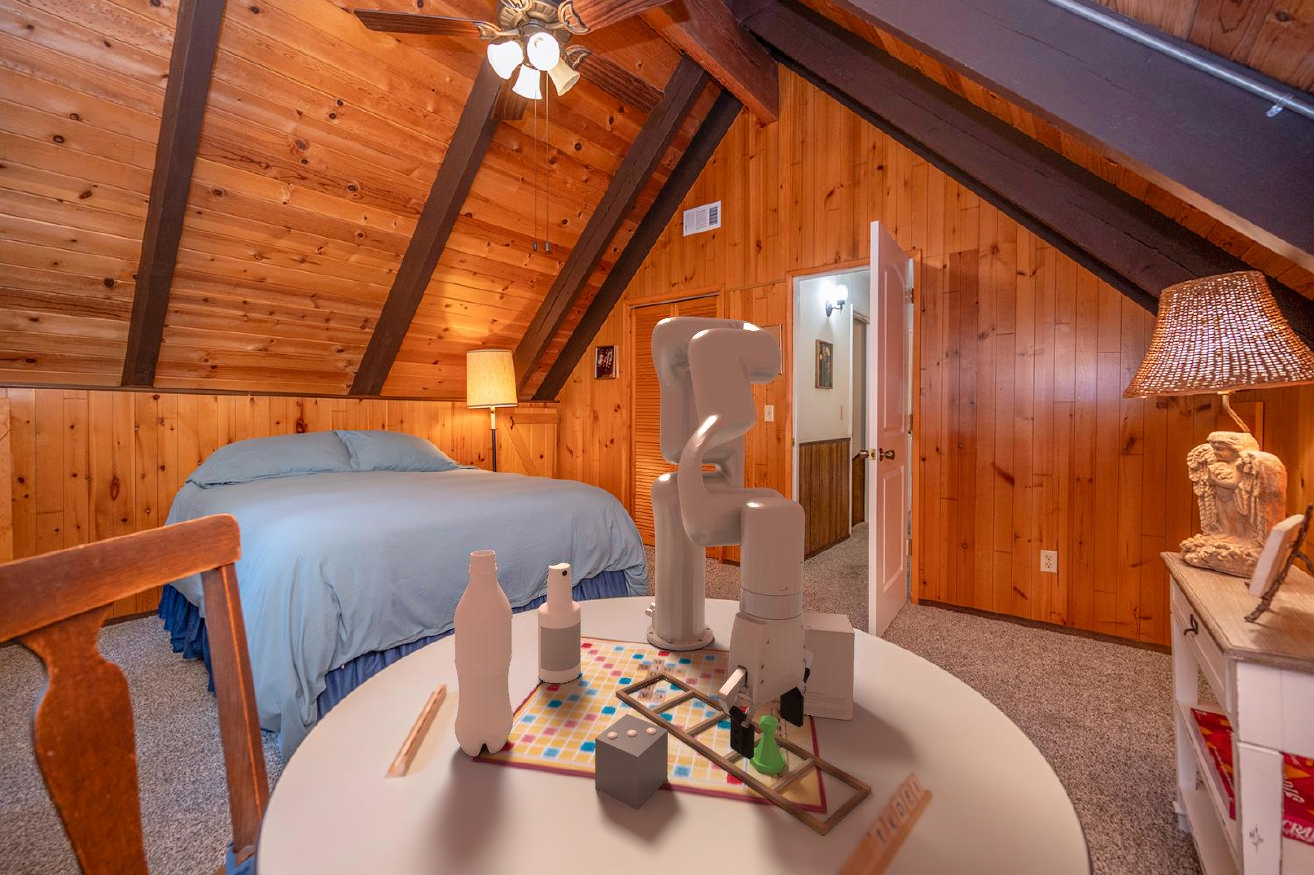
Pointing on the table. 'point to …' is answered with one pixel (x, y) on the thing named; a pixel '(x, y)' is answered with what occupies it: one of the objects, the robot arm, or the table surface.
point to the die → (631, 760)
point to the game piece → (768, 749)
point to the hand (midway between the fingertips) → (767, 736)
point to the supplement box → (829, 665)
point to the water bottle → (483, 659)
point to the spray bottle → (559, 629)
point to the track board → (725, 760)
